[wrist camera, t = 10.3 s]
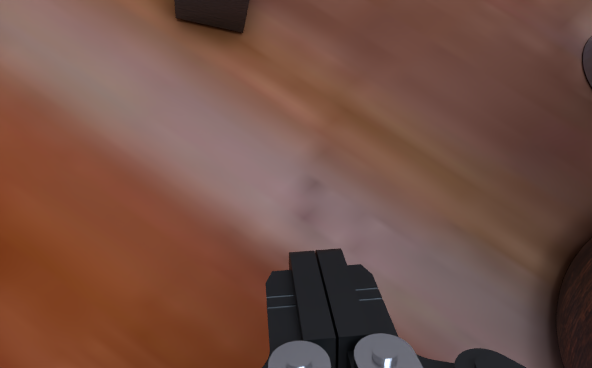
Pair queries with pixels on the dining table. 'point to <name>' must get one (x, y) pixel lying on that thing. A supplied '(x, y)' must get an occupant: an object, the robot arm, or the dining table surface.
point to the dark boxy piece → (214, 12)
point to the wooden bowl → (576, 312)
